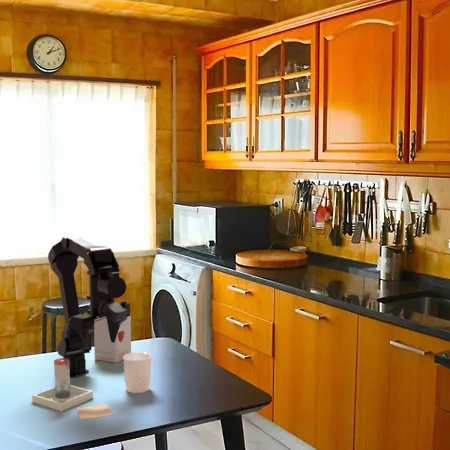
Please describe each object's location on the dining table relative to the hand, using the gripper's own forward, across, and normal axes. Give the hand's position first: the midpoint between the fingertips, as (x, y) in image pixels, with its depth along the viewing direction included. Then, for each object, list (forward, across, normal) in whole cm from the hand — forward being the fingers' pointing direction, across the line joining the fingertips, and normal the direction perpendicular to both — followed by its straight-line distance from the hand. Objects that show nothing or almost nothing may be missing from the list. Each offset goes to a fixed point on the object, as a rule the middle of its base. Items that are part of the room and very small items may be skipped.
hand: (101, 346), depth 186 cm
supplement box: (+13, +24, +19) cm, 33 cm away
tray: (+13, -12, +3) cm, 18 cm away
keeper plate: (+13, -13, -10) cm, 21 cm away
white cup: (+13, +6, -8) cm, 17 cm away
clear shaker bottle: (+12, -12, +3) cm, 18 cm away
